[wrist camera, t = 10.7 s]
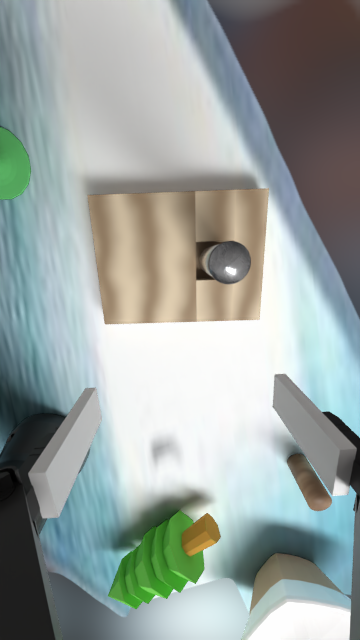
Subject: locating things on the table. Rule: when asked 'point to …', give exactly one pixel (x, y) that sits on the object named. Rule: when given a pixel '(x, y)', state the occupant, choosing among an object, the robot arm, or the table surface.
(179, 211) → the board
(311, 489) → the walnut dowel
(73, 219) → the table surface
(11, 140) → the cup
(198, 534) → the decorative tree
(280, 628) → the bowl
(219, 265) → the pin
